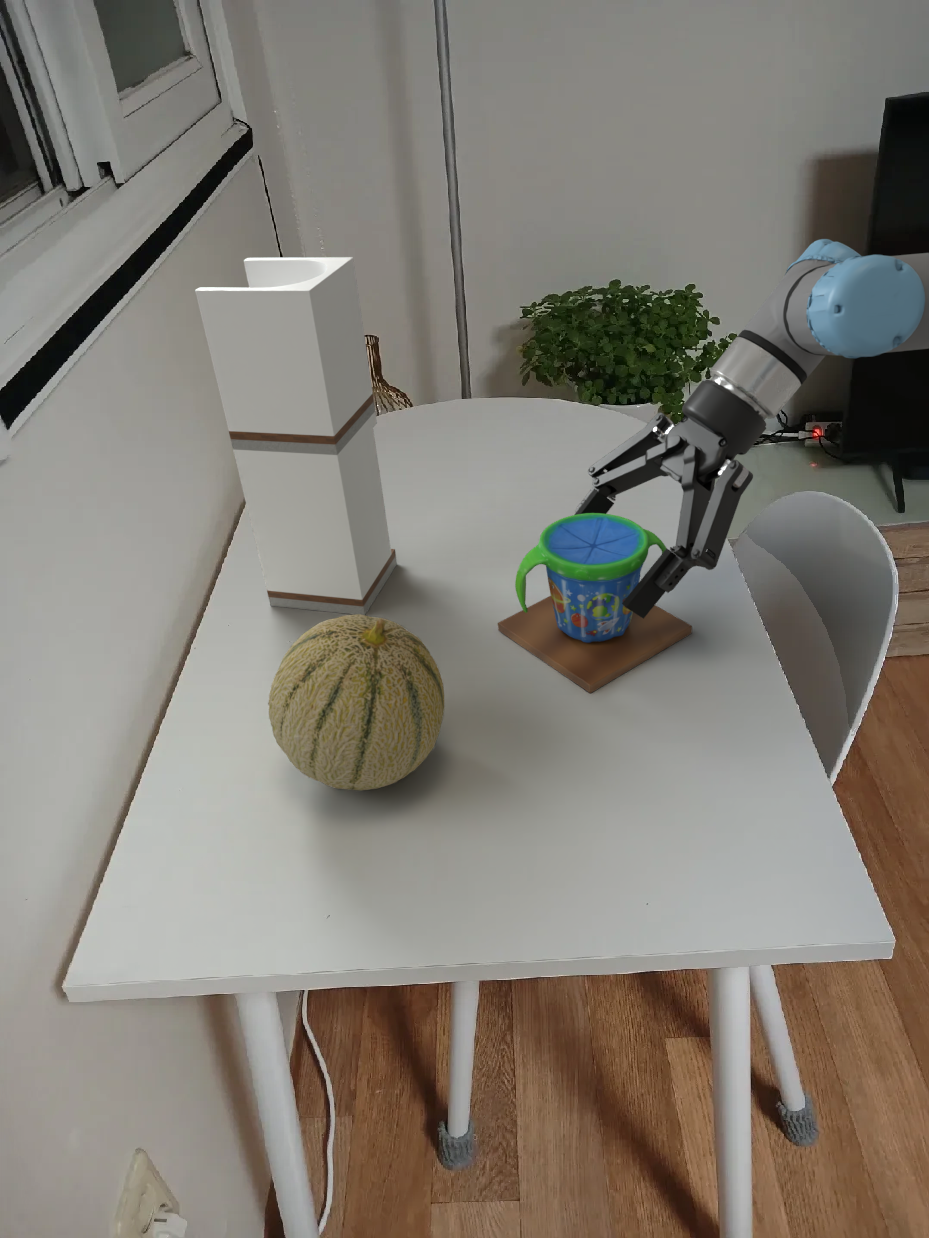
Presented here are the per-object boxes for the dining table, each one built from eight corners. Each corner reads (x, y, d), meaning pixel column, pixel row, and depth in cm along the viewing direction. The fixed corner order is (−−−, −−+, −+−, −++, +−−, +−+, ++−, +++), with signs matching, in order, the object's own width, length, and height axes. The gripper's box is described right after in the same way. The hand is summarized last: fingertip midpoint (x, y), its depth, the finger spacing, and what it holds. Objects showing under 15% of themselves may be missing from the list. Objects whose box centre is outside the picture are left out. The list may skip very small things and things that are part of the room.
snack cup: (655, 586, 102) (658, 502, 96) (683, 644, 93) (689, 556, 88) (511, 604, 102) (505, 521, 96) (526, 664, 93) (521, 577, 87)
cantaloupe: (261, 753, 87) (224, 619, 78) (401, 690, 93) (381, 559, 84) (331, 855, 76) (297, 713, 68) (484, 777, 82) (471, 637, 74)
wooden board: (691, 633, 96) (692, 625, 96) (590, 693, 90) (590, 685, 90) (595, 579, 106) (595, 571, 105) (497, 630, 100) (497, 622, 99)
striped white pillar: (397, 564, 112) (353, 257, 92) (364, 615, 104) (309, 290, 84) (308, 556, 115) (247, 258, 95) (270, 605, 107) (194, 290, 87)
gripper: (848, 469, 82) (689, 658, 87) (686, 379, 101) (563, 537, 106) (805, 426, 78) (640, 627, 82) (644, 340, 97) (518, 507, 102)
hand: (596, 577), depth 94 cm, fingers open, 13 cm apart
